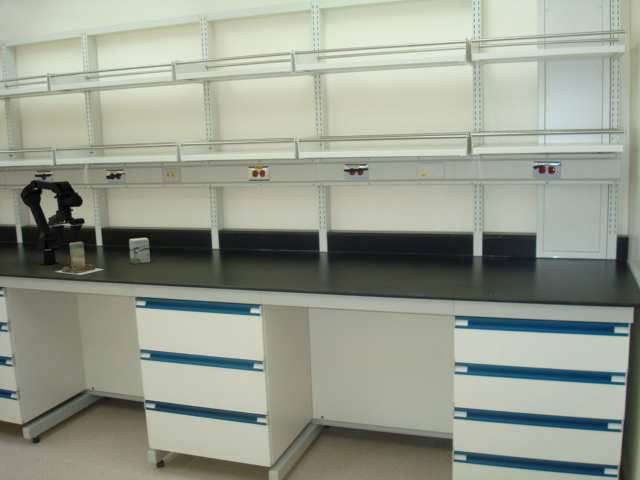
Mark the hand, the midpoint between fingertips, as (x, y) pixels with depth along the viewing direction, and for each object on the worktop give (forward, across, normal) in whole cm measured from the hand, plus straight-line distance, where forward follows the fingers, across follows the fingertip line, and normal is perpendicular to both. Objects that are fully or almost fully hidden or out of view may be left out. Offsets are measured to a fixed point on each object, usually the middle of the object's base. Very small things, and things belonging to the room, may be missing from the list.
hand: (68, 239), depth 282 cm
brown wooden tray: (+13, +13, -8) cm, 21 cm away
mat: (+14, +13, -8) cm, 21 cm away
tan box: (+13, +13, -8) cm, 20 cm away
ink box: (+14, +26, +19) cm, 35 cm away
